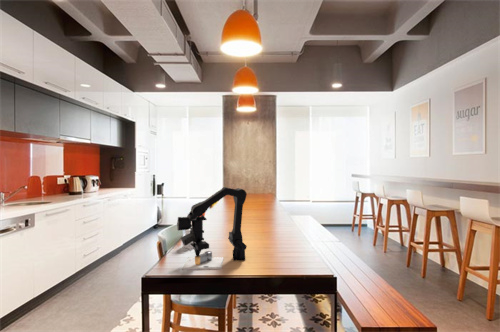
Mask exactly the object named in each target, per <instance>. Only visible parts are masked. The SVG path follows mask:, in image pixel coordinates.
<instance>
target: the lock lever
mask: <svg viewBox="0 0 500 332" xmlns="http://www.w3.org/2000/svg"><path fill="white" fill-rule="evenodd" d="M212 257H213V252H212V251H211V250H206V251H204V253H201V254H199V255H198V256H196V255H195V256H194V258H195V264H197V265H199V264H201V263H203V262H206V261H210V260H212Z"/></svg>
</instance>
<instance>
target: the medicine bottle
mask: <svg viewBox="0 0 500 332" xmlns="http://www.w3.org/2000/svg"><path fill="white" fill-rule="evenodd" d="M191 230H192V227H190V228H189V230H184V231H185V235H187V234H189V233H190V231H191ZM185 235H184V236H185ZM191 243H192V242H191ZM182 248H184V249H188V250H192V249H194V247H193V246H192V245H191V244H190V243H189V244H188V245H184V244H183V243H182Z"/></svg>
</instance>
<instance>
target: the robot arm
mask: <svg viewBox="0 0 500 332" xmlns="http://www.w3.org/2000/svg"><path fill="white" fill-rule="evenodd" d="M226 196H230V197H233V203H234V209H233V212H234V213H233V220H232V221H233V223H232V230H231V231H229V232H228V241H229V243H230V244H231V245H232V246H233V250H232V260H233V261H235V262H236V261H246V249H247V244H245V243H244V241H243V240H244V239H243V233H242V221H243V220H242V219H243V209H244V207H243V206H244V204H245V202H246V199H247V192H246V190H245V189H243V188H239V187H238V188H230V187H226V186H222V188H221V189H220V190H218V191H217V192H215V193H214V194H212V195H211V196H209V197H208V198H206V199H205V200H203V201H200V202H198V203H195V204H192V206H191V208H190V212H189V213H187V216H178V217H177V222H176V228H177V231H178V232H179V231H185V230H189V228H192V230H191V231H190V233H189V234H187V235H183V236H181V237H180V240H181V243H182V245H183V244H184V245H188V244H189V243H190V244H191V245H192V246H193V247H194V248H193V250H194V253H195V254H194V255H195V256H198V255H200V253H201V252H202V251H203V250H208V249H210V243H208V241H206V240H205V238H204V236H203V235H204V233H205V230H204V228H203V227H204V225H203V224H204V223H203V221H207V218H206V217H205V216H204V214H205V213H206V212H207V211H208V210H209V208H211V207H212V206H213V205H215V204H216V203H217V202H219V201H220V200H222V199H223V198H224V197H226ZM191 242H192V243H191Z"/></svg>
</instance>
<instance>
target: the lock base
mask: <svg viewBox="0 0 500 332" xmlns="http://www.w3.org/2000/svg"><path fill="white" fill-rule="evenodd" d="M223 263H224V256H222V257H221V256H217V257H215V256H214V257H213V256H212V260H210V261H206V262H203V263H201V264H199V265H197V264H195V257H188V258H187V259H186V261H185V262H184V264H183V266H182V270H183V271H184V270H185V271H186V270H189V271H190V270H222V267H223Z"/></svg>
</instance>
